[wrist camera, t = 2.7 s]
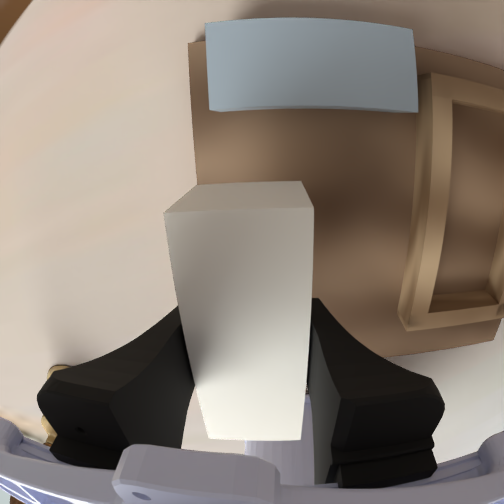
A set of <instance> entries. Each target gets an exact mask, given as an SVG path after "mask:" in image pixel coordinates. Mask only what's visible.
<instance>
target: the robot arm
mask: <svg viewBox="0 0 504 504" xmlns="http://www.w3.org/2000/svg"><path fill="white" fill-rule="evenodd" d="M306 381H307V386H308V392H309V394H305V402H304V412H303V422H302V431H301V440H286V441H255V440H245V455H243V454H235V453H218V452H205V451H194V450H185V449H181V445H182V439H183V432H184V426H185V421H186V415H187V410H188V406H189V403H190V399H191V396H192V393H193V390H194V387H195V383H194V378H193V374H192V370H191V365H190V361H189V356H188V352H187V347H186V342H185V337H184V332H183V328H182V323H181V317H180V312H179V307H178V306H177V307H176V308H175V309H173V310H172V311H171V312H170V313H169V314H168V315H166V316H165V317H164V318H163V319H161V320H160V321H159V322H158V323H157V324H155V325H154V326H153V327H151V328H150V329H148V330H147V331H146V332H144V333H143V334H142V335H140V336H139V337H137V338H136V339H134V340H133V341H131V342H129V343H128V344H126V345H124V346H122V347H121V348H119V349H117V350H114V351H112V352H110V353H108V354H106V355H104V356H102V357H99V358H97V359H94V360H92V361H89V362H86V363H83V364H80V365H77V366H73V367H69V368H65V369H61V370H56V371H53V373H52V374H51V376H50V377H49V378H48V380H47V381H46V383H45V384H44V385H43V387H42V388H41V390H40V391H39V393H38V394H37V402H38V405H39V408H40V410H41V411H42V413H43V415H44V416H45V418H46V419H47V421H48V422H49V424H50V425H51V426H52V428H53V429H54V431H55V432H56V433H57V436H56V438H55V440H54V442H53V444H52V445H51V447H49V446H46V445H44V444H41V443H38V442H36V441H34V440H31V439H29V438H26V437H24V436H23V434H22V432H21V431H20V430H19V428H18V427H17V426H16V425H15V424H13V423H12V422H11V421H9V420H6V419H4V418H2V417H0V488H1V489H2V490H3V491H5V492H6V493H8V494H10V495H11V496H13V497H15V498H17V499H18V500H20V501H22V502H23V503H25V504H504V431H502V432H500V433H497V434H495V435H493V436H491V437H489V438H488V439H486V440H485V441H484V442H483V443H482V445H481V446H480V448H479V450H478V451H477V452H474V453H471V454H468V455H465V456H462V457H459V458H456V459H453V460H449V461H446V462H443V463H439V464H437V463H436V460H435V458H434V455H433V452H432V449H433V447H434V441H433V438H432V434H433V432H434V431H435V429H436V427H437V425H438V423H439V422H440V420H441V418H442V416H443V413H444V410H445V403H444V401H443V399H442V397H441V394H440V392H439V390H438V388H437V387H436V385H435V384H434V382H433V380H432V379H431V378H429V377H426V376H423V375H420V374H417V373H414V372H411V371H409V370H406V369H404V368H402V367H400V366H397V365H395V364H393V363H391V362H389V361H388V360H386V359H384V358H382V357H381V356H379V355H377V354H376V353H374V352H373V351H371V350H370V349H368V348H367V347H366V346H364V345H363V344H362V343H360V342H359V341H358V340H357V339H355V338H354V337H353V336H352V335H351V334H350V333H349V332H348V331H347V330H346V329H345V328H344V327H343V326H342V325H341V324H340V323H339V322H338V321H337V320H336V319H335V317H334V316H333V315H332V314H331V313H330V312H329V310H328V309H327V308H326V307H325V305H324V304H323V303H322V301H321V300H320V299H319V298H312V300H311V320H310V337H309V352H308V366H307V379H306Z"/></svg>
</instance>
